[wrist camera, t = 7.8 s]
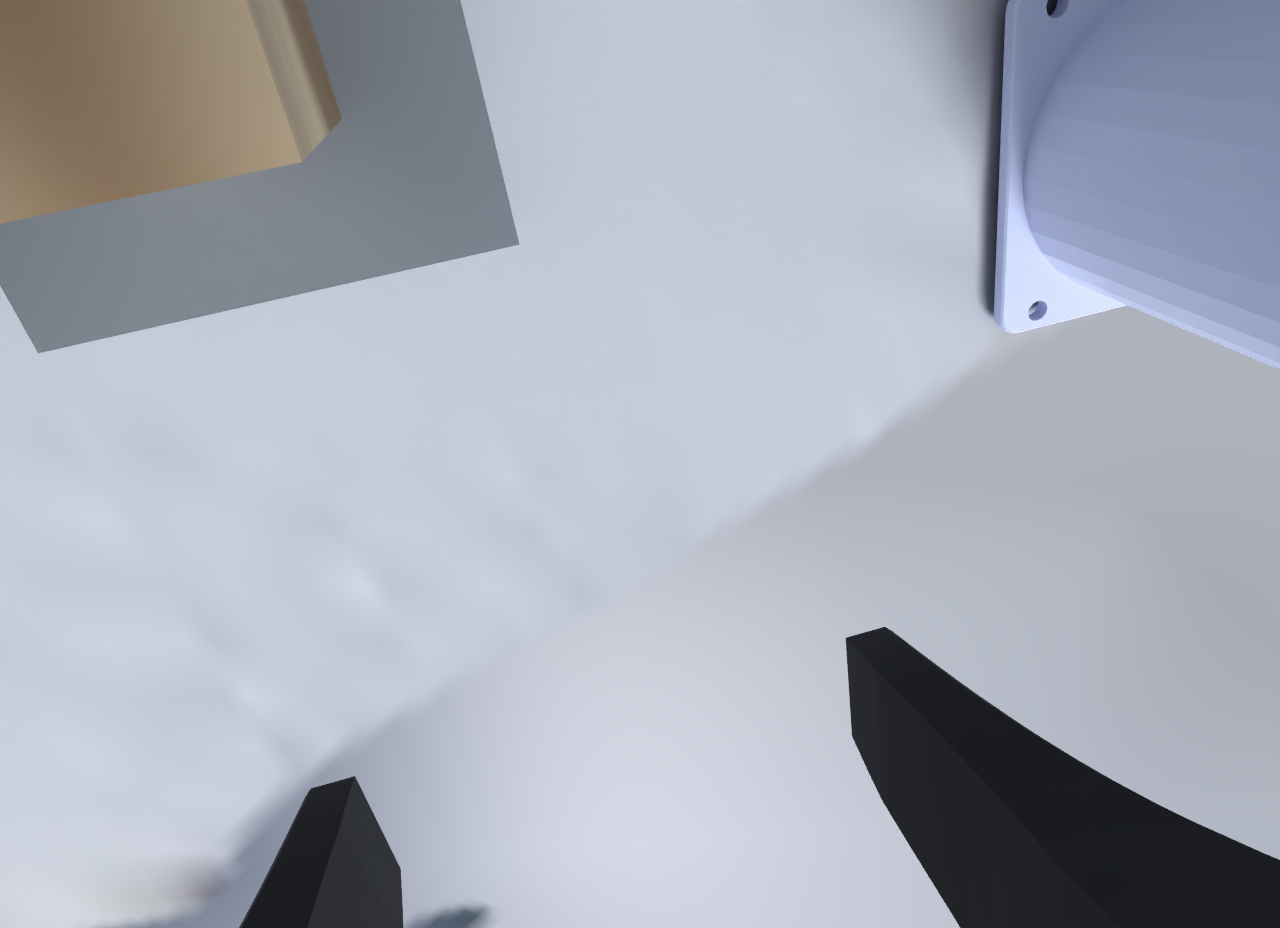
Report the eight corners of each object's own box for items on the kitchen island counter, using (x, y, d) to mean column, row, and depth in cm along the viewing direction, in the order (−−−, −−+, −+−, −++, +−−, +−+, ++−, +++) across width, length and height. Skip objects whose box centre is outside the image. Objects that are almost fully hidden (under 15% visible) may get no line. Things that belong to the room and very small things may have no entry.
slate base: (378, -321, 14) (367, -380, 12) (510, 217, 19) (519, 244, 16) (-194, -231, 13) (-317, -278, 11) (87, 311, 18) (37, 352, 16)
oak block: (253, -161, 13) (160, -248, 9) (341, 118, 15) (301, 162, 11) (-23, -115, 12) (-268, -183, 8) (105, 165, 14) (-37, 231, 10)
